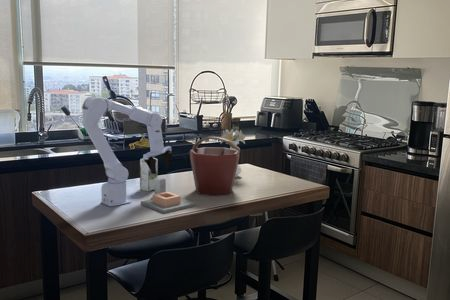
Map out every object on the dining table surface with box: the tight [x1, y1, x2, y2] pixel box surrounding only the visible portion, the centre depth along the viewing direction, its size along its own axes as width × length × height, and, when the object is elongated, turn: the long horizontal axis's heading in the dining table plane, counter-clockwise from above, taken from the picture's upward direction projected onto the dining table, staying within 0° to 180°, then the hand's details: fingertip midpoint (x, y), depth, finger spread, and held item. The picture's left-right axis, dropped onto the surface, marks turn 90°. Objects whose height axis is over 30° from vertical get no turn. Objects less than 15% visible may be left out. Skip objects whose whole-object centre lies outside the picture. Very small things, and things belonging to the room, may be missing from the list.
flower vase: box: [220, 128, 246, 178], centre depth 236 cm, size 13×18×25 cm
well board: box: [140, 191, 197, 214], centre depth 182 cm, size 16×16×4 cm
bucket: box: [189, 136, 241, 197], centre depth 203 cm, size 24×22×25 cm
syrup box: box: [139, 157, 159, 192], centre depth 205 cm, size 6×6×14 cm
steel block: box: [154, 177, 167, 194], centre depth 194 cm, size 3×4×8 cm
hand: (160, 171), depth 194 cm, fingers open, 7 cm apart
